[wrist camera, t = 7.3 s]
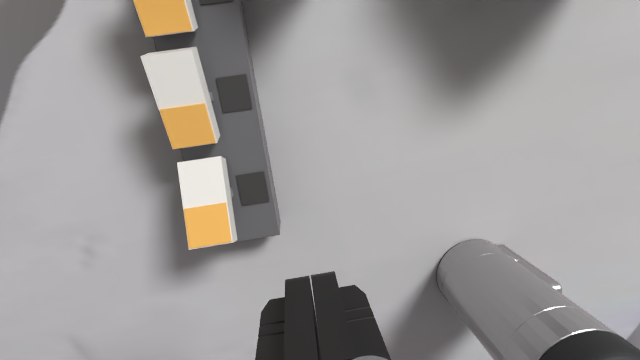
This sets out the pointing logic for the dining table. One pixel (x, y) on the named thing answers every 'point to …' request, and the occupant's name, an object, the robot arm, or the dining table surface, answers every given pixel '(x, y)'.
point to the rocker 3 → (207, 202)
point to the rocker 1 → (165, 16)
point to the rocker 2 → (182, 97)
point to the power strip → (232, 113)
